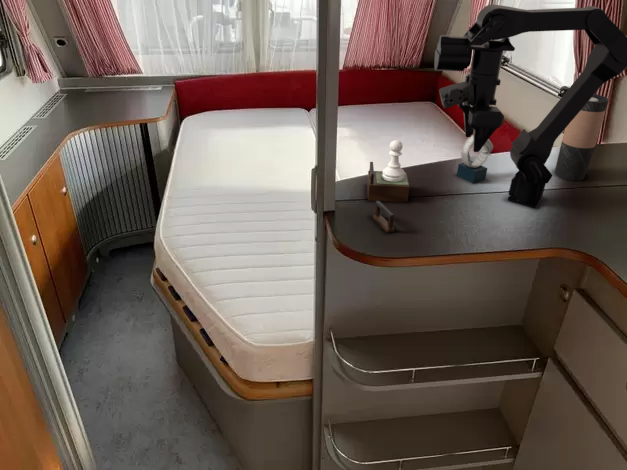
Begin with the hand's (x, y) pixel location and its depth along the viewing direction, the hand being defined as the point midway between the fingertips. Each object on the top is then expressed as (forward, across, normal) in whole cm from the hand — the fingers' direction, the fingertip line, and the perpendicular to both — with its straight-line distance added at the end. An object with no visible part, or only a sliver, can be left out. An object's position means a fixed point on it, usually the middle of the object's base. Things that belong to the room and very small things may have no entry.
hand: (471, 144), depth 117 cm
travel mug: (+13, -16, +30) cm, 37 cm away
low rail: (+13, +15, -19) cm, 28 cm away
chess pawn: (+9, 0, -16) cm, 19 cm away
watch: (+13, -12, +4) cm, 18 cm away
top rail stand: (+13, 0, -18) cm, 22 cm away
